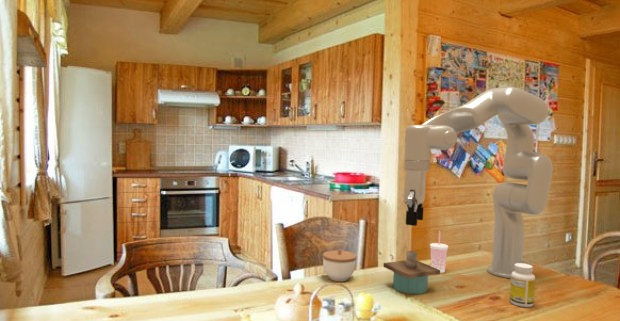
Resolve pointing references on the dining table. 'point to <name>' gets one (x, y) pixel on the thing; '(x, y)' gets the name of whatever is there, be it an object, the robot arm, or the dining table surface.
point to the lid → (411, 267)
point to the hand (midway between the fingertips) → (414, 222)
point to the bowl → (410, 284)
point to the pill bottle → (522, 285)
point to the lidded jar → (339, 264)
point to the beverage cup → (438, 255)
